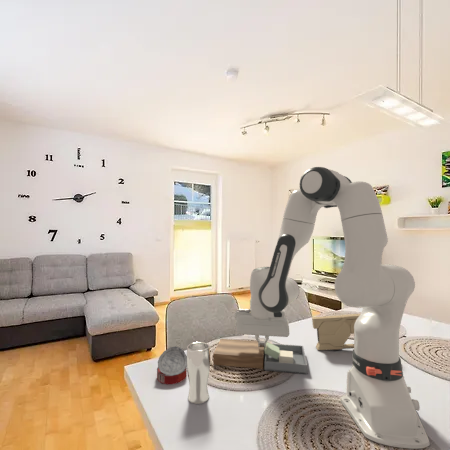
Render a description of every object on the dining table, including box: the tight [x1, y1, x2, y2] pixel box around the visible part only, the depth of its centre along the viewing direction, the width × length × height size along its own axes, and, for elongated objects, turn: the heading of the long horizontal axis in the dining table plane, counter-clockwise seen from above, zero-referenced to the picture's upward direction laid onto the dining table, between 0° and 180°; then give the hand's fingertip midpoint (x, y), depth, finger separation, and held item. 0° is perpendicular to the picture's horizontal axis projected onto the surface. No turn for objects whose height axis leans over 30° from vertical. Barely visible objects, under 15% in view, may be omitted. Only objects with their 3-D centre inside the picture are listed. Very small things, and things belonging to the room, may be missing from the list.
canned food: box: [156, 346, 188, 385], centre depth 94 cm, size 11×10×10 cm
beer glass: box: [186, 341, 211, 405], centre depth 82 cm, size 7×7×15 cm
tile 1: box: [264, 341, 280, 359], centre depth 105 cm, size 5×5×2 cm
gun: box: [311, 313, 361, 352], centre depth 113 cm, size 24×3×15 cm, turn 84°
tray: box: [264, 343, 309, 375], centre depth 104 cm, size 16×14×3 cm
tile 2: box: [279, 350, 293, 363], centre depth 103 cm, size 5×5×2 cm
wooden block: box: [212, 338, 265, 370], centre depth 107 cm, size 14×18×4 cm
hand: (262, 346), depth 105 cm, fingers closed
